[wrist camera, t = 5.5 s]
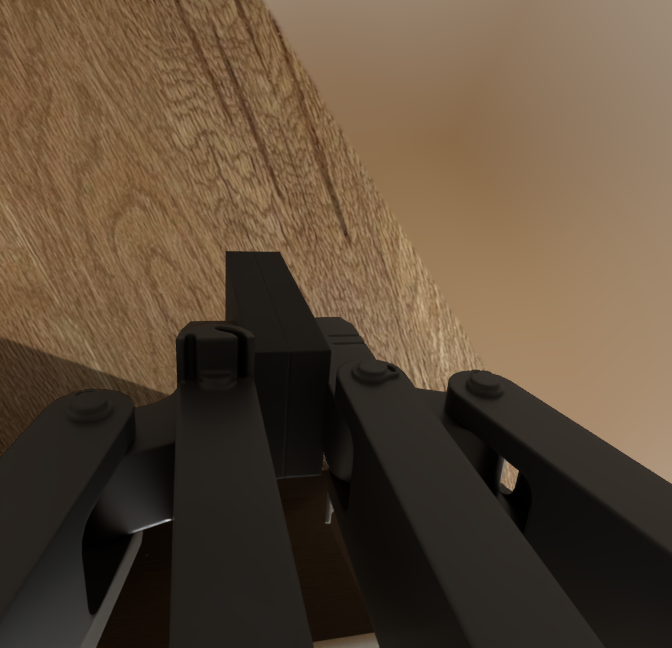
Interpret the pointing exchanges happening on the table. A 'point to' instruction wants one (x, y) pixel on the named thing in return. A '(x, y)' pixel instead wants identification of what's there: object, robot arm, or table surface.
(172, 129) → the table surface
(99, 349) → the table surface
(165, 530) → the oven door
